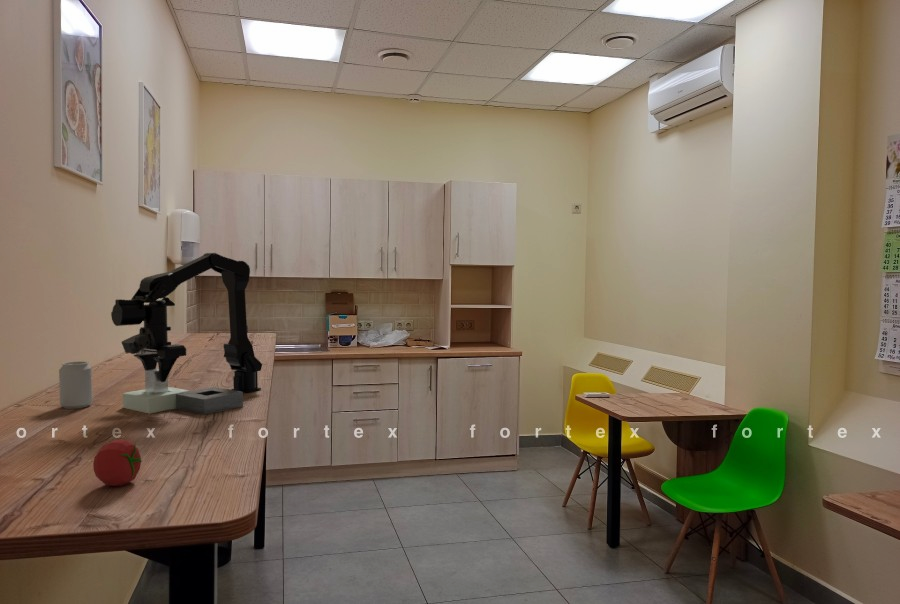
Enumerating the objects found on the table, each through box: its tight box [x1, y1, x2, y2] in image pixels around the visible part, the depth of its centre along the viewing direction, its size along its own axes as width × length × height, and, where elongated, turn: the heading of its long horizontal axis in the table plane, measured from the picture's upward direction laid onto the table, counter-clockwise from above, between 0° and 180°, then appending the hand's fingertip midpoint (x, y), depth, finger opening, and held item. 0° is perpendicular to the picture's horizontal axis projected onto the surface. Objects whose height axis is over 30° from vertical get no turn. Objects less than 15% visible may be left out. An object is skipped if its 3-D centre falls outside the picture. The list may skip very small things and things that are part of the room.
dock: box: [122, 386, 191, 414], centre depth 168 cm, size 12×12×4 cm
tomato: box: [92, 439, 143, 487], centre depth 108 cm, size 8×8×8 cm
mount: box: [175, 386, 244, 416], centre depth 167 cm, size 12×12×4 cm
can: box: [58, 360, 93, 410], centre depth 167 cm, size 8×8×12 cm
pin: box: [144, 367, 169, 395], centre depth 168 cm, size 4×4×10 cm
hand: (156, 380), depth 168 cm, fingers open, 5 cm apart
